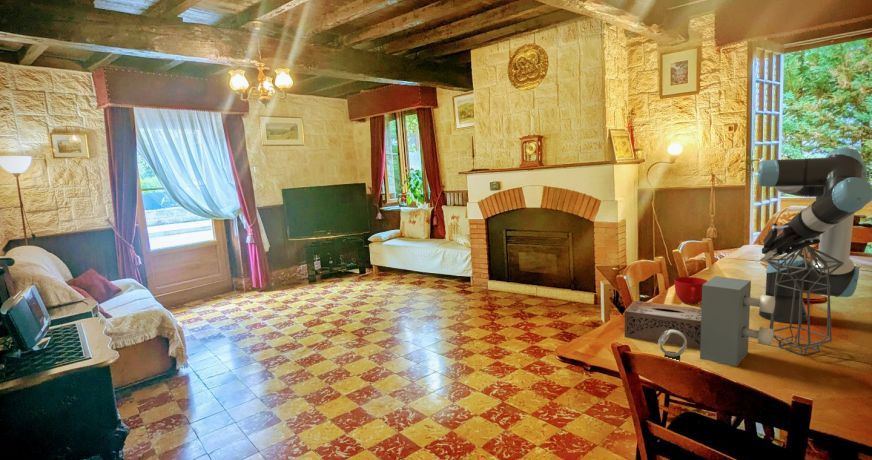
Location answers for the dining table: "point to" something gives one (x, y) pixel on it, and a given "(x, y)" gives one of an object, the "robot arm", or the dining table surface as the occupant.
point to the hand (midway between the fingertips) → (760, 257)
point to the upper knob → (761, 303)
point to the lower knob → (760, 335)
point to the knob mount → (724, 320)
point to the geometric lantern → (812, 253)
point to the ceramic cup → (689, 289)
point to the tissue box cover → (663, 323)
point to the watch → (664, 338)
